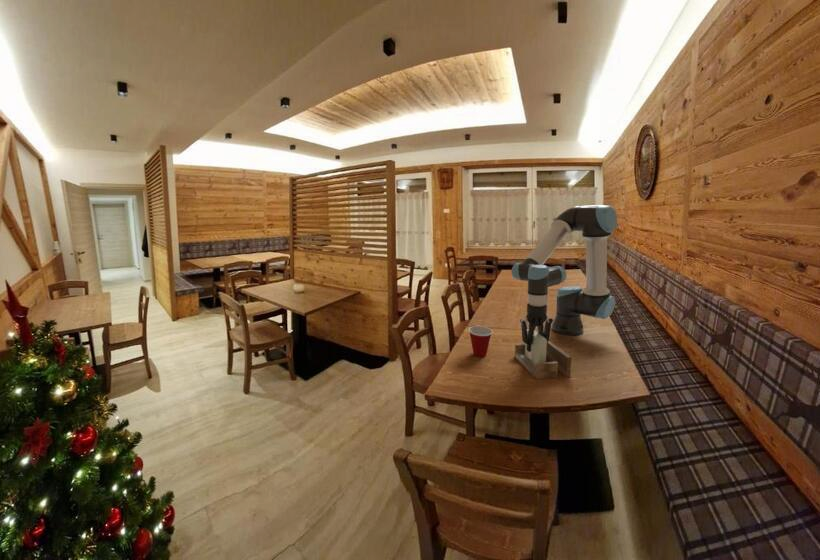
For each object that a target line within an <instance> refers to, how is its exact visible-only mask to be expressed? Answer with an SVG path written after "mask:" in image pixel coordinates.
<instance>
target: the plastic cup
mask: <svg viewBox="0 0 820 560" xmlns="http://www.w3.org/2000/svg"><path fill="white" fill-rule="evenodd" d="M468 332H469V337H470V343H471V348H472V352H473V355H474V356H476V357H479V358H482V357H486V356H487V353H488V351H489V343H490V339H491V336H492V334H493V333H494V331H493V329H491V328H490V327H487V326H483V325H472V326H470V327H468Z"/></svg>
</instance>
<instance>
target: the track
mask: <svg viewBox="0 0 820 560" xmlns="http://www.w3.org/2000/svg"><path fill="white" fill-rule="evenodd" d="M514 357H515V359H516V360H517V361H518V362H520V363H521V365H523V366H524V367H525V369H527V371H529V372H530V373H531V375H533V377H535V378H536V380H544V379H551V378H554V379H555V378H558V372H561V374H563V375H564V376H565V377H571V372H572V369H571V368H572V356H570V355H569V354H568V353H566V352H565V351H564V350H562V349H561V348H560V347H558V346H557V345H555V343H553V342H551V341H550V340H549V341H548V342H547V347H546V362H545V363H536V366H535V365H534V364H533V363H532V362H531V361H530V360H529V359H528V358H527V357H526V356H525V343H524V342H523V343H514Z"/></svg>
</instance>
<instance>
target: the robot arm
mask: <svg viewBox="0 0 820 560" xmlns="http://www.w3.org/2000/svg"><path fill="white" fill-rule="evenodd" d="M617 224H618V215H617V212H616V210H615V209H614V208H613V207H612V206H611V205H606V204H605V205H603V204H596V205H595V204H594V205H576V206H572V207H570V208H568V209H566V210H565V211H563V212H561V213H560V214H559V215H557V217H556V218H555V219H554V220H553V221H552V222H551V225H550V228H549V229H548V231H547V232H546V233H545V234H544V235H543V237H542V238H541V239H540V241H539V242H538V243H537V244H536V246H535V247H534V248H533V249H532V250H531V251H530V253H529V254H528V256H526V258H525V259H524V260H523V262H516V263H514V264H513V265H512V268H511V275H512V277H513V278H514V279H515V280H519V281H522V282H523V281H525V282H527V297H526V298H527V299H526V301H527V304H526V316H525V318H523V319H519V322H520V324H521V340H522V341H521V342H523V343H525V344H527V351H528V357H529V358H530V359H531V360H533V347H534V345H533V344H532V340H533V335H534V331H536V327H537V333H539V334H540V335H541V336H543V337H544V338H546V339H547V342H548V341H550V336H551V335H550V334H551V330H552V331H553V332H555V333H558V334H561V335H562V334H563V335H566V336H567V335H568V336H569V335H570V336H576V335H581V334H583V333H584V324H583V320H582V318H581V317H582V315H583V316H587V317H591V318H595V319H601V320H606V319H608V318H609V317H610V316H611V315H612V313H613V311H614V309H615V306H616V298H615V296H613V295H611V290H610V289H609V288H608V286H607V274H608V273H607V271H608V270H607V266H608V265H607V264H608V238H609V237H611V236H612V232H614V231H615V230H616V229H617ZM576 231H578V232H582V234H581V235H582V238H584V239H585V288H583V287H581V286H575V285H573V286H571V285H570V286H564V287H560V288H558V289H557V292H556V310H555V317H554V319H553V318H552V317H550V316H548V315H547V313H548V305H547V304H548V292H549V291H548V290H549V289H548V288H550V287H552V286H558V285H560V284H562V283H564V282H565V281H566V280H567V271H566V270H565V268H564V267H562V266H560V265H553V266H547V265H545V263H546V262H547V260H548V259H549V258H550V256H552V254H553V252H555V250H556V248H558V246H559V245H560V244H561V242H562V241H563V240H564V238H566V237H568V236H570V235H571V233H572V232H576ZM527 324H528V326H527ZM527 329H529V330H528V335H527Z"/></svg>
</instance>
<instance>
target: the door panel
mask: <svg viewBox="0 0 820 560" xmlns="http://www.w3.org/2000/svg"><path fill="white" fill-rule="evenodd" d="M528 330H529V328H527V335H528ZM532 344H533V345H534V347H533V360H531V359H530V358H529V357H528V351H527V344H525V356H526V358H527V359H528V360H529V361H530V362H532V363H533V364H534V365H535V366H536V363H545V362H547V360H546V347H547V339H546V338H544V337H543V336H541V335H540V334H539V333H538V331H536V330H534V335H533V340H532Z"/></svg>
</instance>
